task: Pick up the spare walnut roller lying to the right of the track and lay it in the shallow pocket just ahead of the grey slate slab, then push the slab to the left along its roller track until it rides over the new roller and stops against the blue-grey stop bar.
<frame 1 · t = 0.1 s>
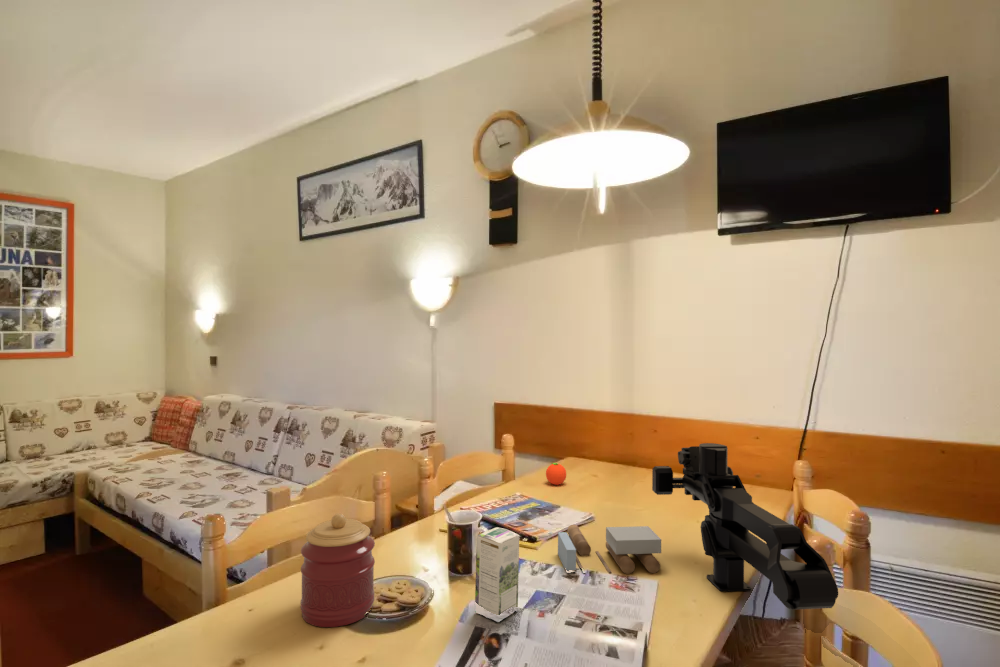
hand: (677, 471, 136), 17 cm above the table, tool horizontal, fingers open, 9 cm apart
roller track: (632, 561, 121), on the table
stop bar: (566, 563, 120), on the table
canister: (338, 611, 99), on the table
syrup box: (496, 614, 99), on the table
clementine: (555, 484, 182), on the table
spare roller: (578, 546, 130), on the table
slab: (632, 539, 121), point 5 cm above the table, slide at 0.0 cm
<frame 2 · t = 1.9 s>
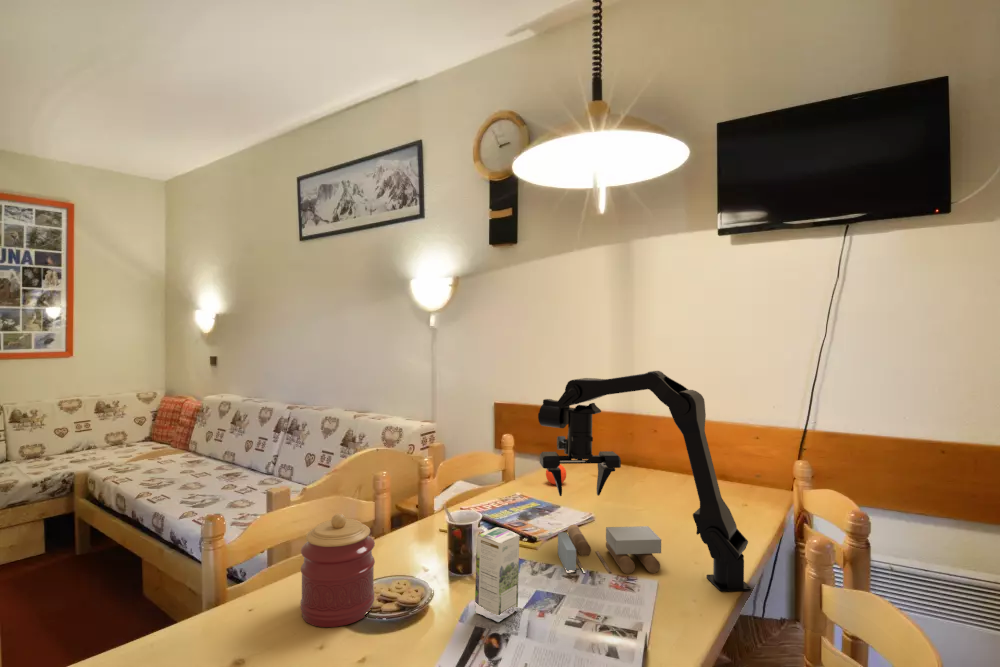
hand: (579, 495, 130), 12 cm above the table, tool pointing down, fingers open, 9 cm apart
nothing on the table moved.
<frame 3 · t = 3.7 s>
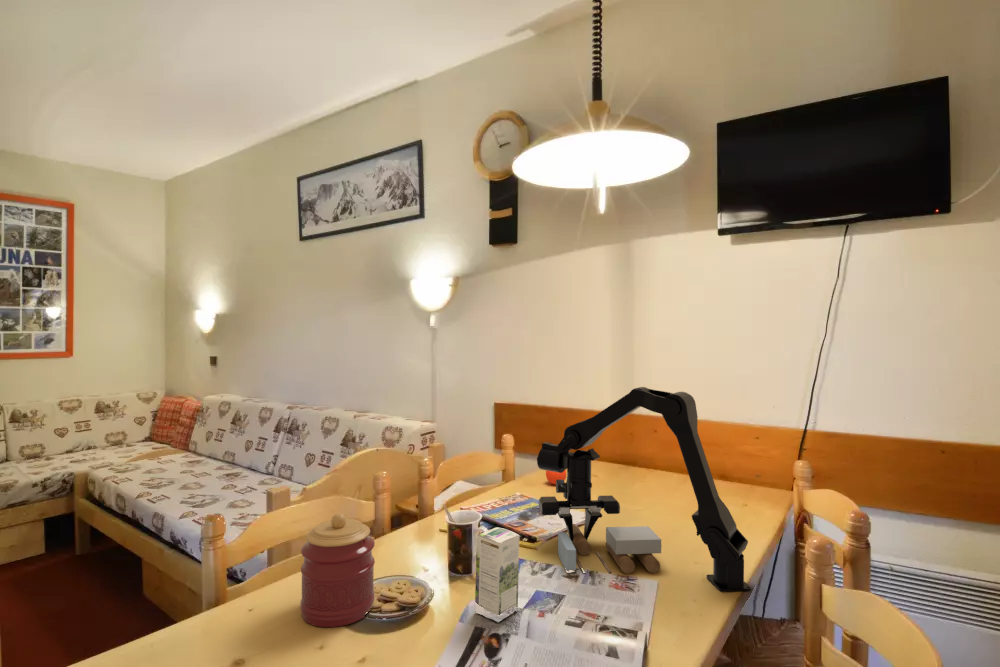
hand: (578, 540, 130), 1 cm above the table, tool pointing down, fingers closed on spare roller, 3 cm apart
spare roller: (578, 545, 130), on the table, touching gripper
everything else where it was.
when the fingers open (2 cm above the table, at t = 7.3 s): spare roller drops 1 cm, on the table.
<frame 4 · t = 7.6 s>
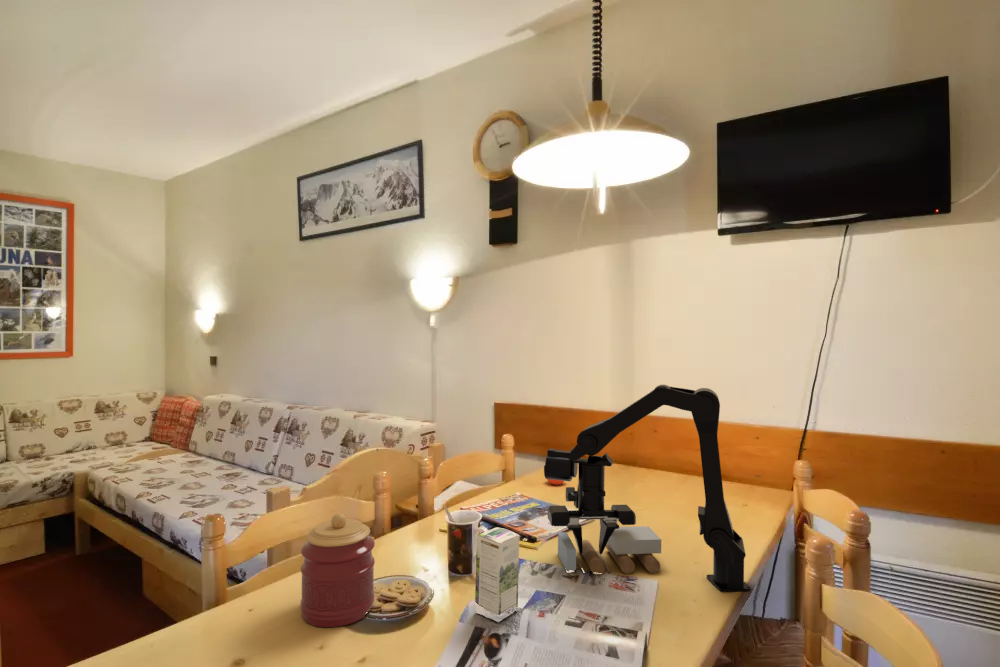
hand: (590, 553, 120), 2 cm above the table, tool pointing down, fingers open, 4 cm apart
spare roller: (591, 563, 120), on the table
slab: (632, 539, 121), point 5 cm above the table, slide at 0.0 cm, touching gripper
everything else where it was.
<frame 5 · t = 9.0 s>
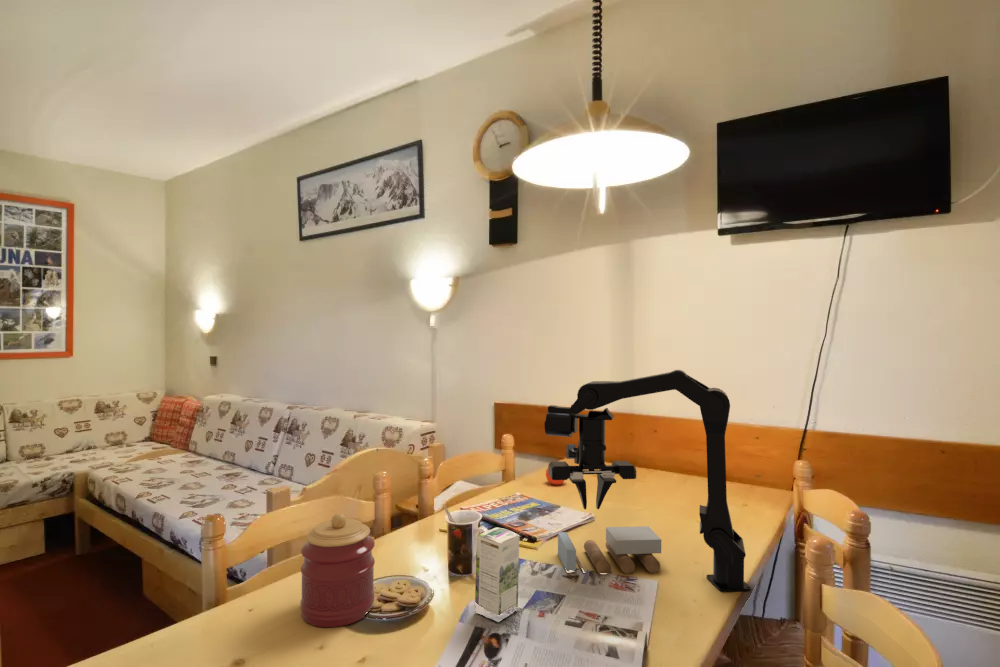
hand: (591, 508, 120), 12 cm above the table, tool pointing down, fingers open, 3 cm apart
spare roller: (591, 561, 120), on the table, tilted 54°
slab: (632, 539, 121), point 5 cm above the table, slide at 0.0 cm
everything else where it was.
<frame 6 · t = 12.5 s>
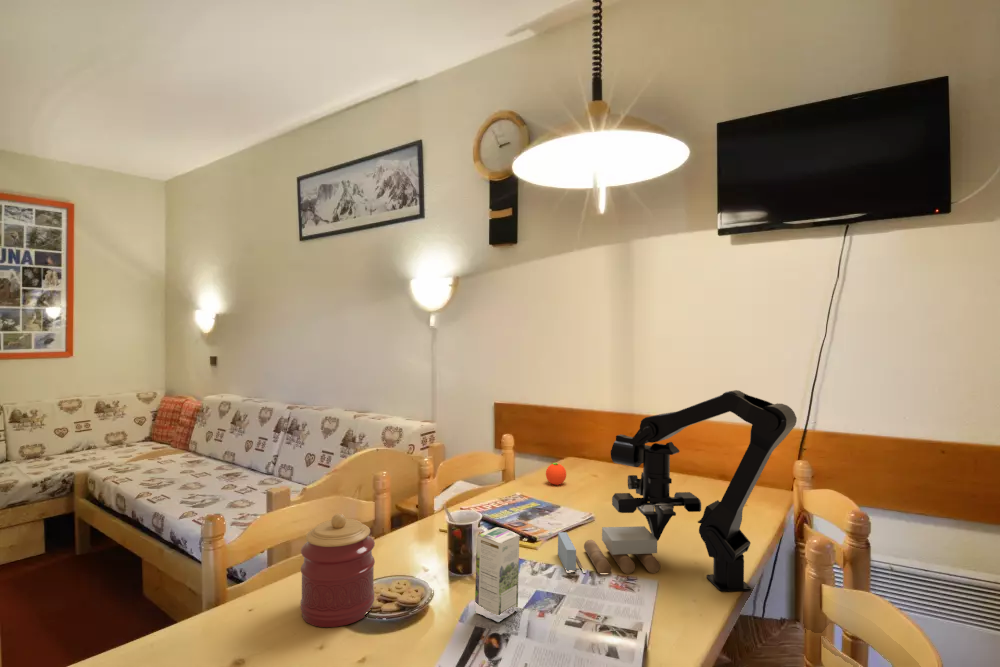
hand: (655, 540, 122), 5 cm above the table, tool pointing down, fingers closed
slab: (628, 539, 121), point 5 cm above the table, slide at 0.9 cm, touching gripper
everything else where it was.
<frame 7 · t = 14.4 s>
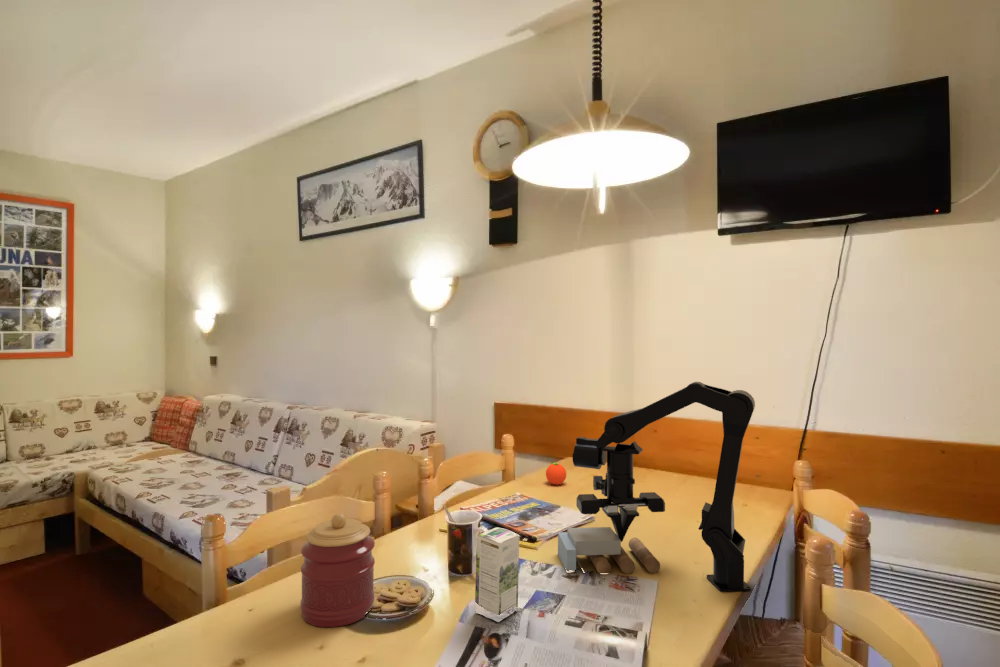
hand: (620, 541, 121), 5 cm above the table, tool pointing down, fingers closed
slab: (593, 540, 120), point 5 cm above the table, slide at 9.0 cm, touching gripper, stop bar
everything else where it was.
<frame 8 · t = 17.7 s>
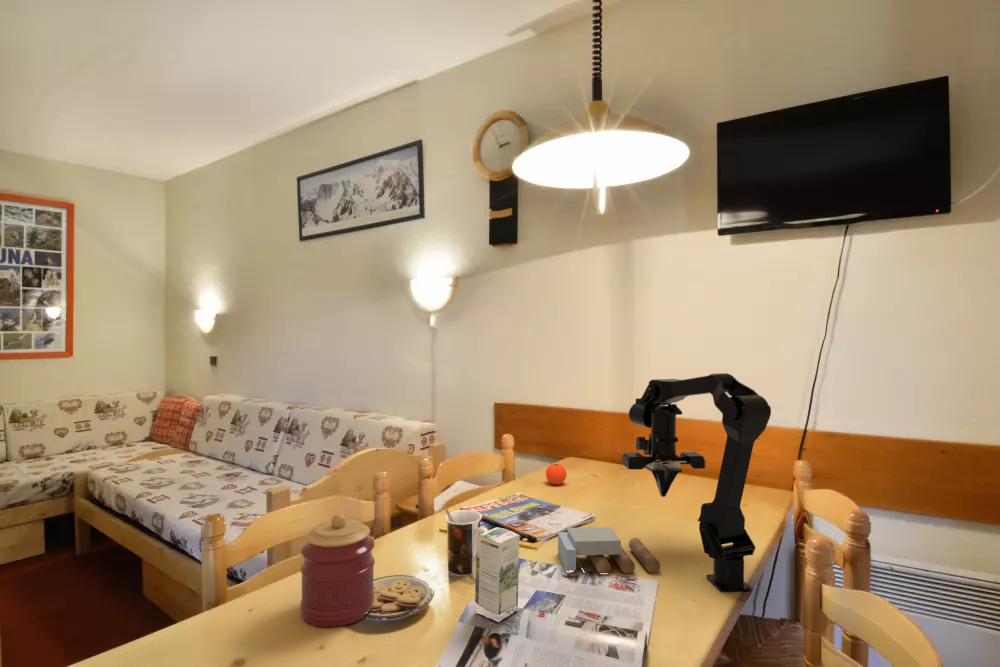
hand: (662, 496, 130), 12 cm above the table, tool pointing down, fingers closed
slab: (593, 540, 120), point 5 cm above the table, slide at 9.0 cm
everything else where it was.
at the end: slab slide at 9.0 cm; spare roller inside the target area (0.6 cm from its centre), on the table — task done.
